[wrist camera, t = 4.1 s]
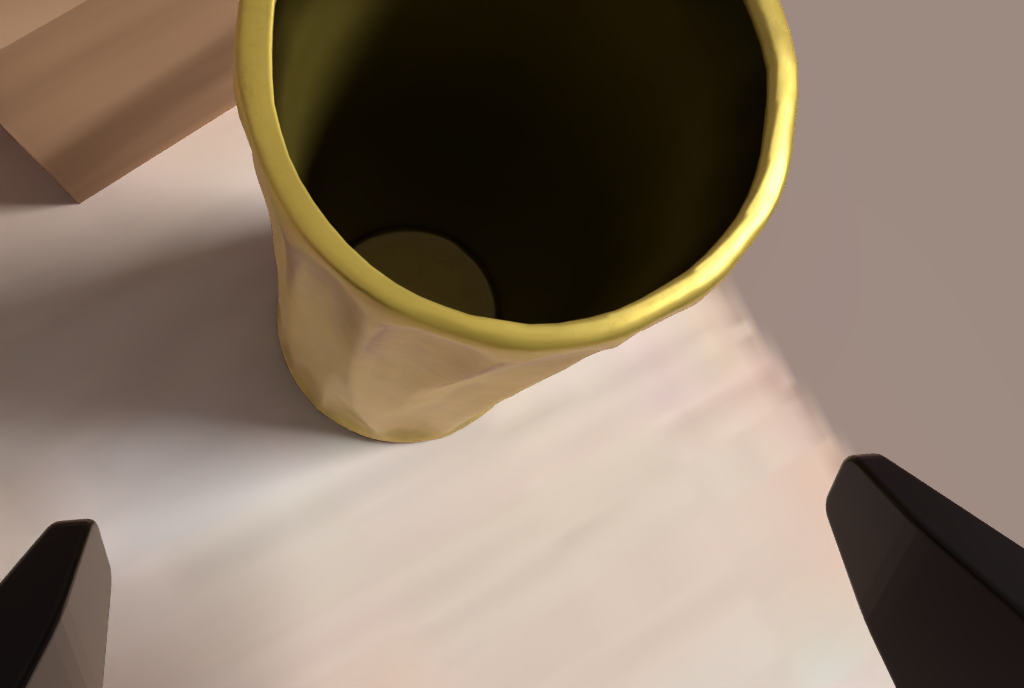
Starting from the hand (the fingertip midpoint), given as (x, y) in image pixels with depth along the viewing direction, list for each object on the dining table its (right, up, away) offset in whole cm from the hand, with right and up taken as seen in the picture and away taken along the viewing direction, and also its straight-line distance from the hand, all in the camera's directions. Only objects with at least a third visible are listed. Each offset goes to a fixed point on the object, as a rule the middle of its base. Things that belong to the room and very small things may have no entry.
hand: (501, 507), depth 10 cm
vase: (-3, +3, +11) cm, 12 cm away
